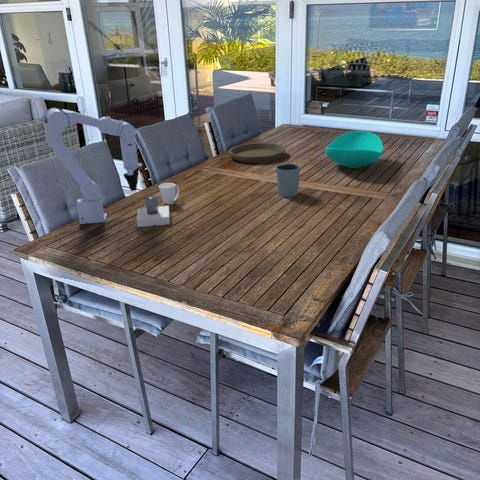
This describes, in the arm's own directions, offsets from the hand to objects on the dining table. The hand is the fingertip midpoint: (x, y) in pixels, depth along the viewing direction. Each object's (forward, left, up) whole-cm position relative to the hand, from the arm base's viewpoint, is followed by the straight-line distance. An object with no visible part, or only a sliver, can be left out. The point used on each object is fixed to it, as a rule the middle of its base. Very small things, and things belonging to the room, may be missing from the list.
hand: (134, 187), depth 191 cm
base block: (+7, -12, -10) cm, 17 cm away
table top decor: (+105, +35, -10) cm, 111 cm away
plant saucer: (+62, +67, -10) cm, 92 cm away
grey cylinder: (+7, -12, -7) cm, 15 cm away
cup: (+14, +6, -10) cm, 18 cm away
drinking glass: (+64, +4, -10) cm, 65 cm away
